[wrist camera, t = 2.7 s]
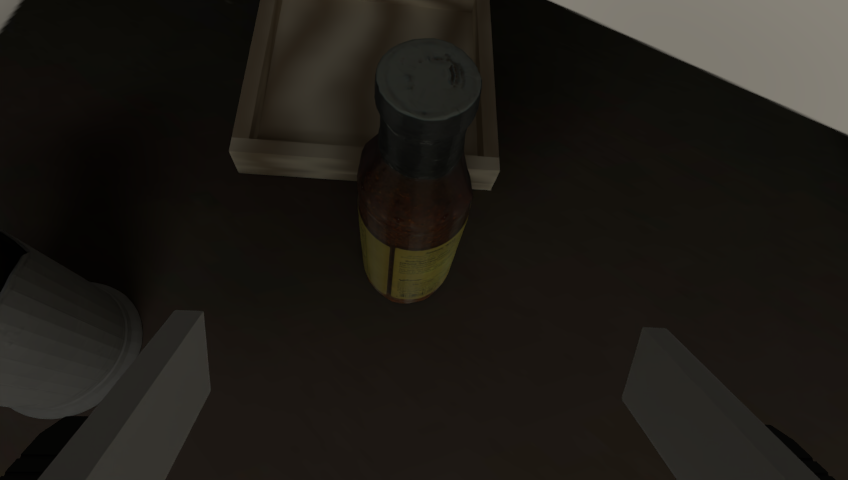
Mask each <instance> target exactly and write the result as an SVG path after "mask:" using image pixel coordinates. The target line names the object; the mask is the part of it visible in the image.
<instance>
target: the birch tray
mask: <svg viewBox="0 0 848 480" xmlns="http://www.w3.org/2000/svg"><path fill="white" fill-rule="evenodd" d="M423 38H435V39H440V40H444V41H447V42H450V43H452V44H454V45H455V46H457V47H458V48H460V49H462V50H463V51H464V52H465V53H466V54H467V55H468V56H469V57H470V58H471V59H472V60H473V62H474V63H475V65H476V66H477V68H478V71H479V73H480V75H481V79H482V90H481V96H480V101H479V107H478V111H477V112H476V116H475V118H474V120H473V121H472V123H471V124H470V126H469V127H468V128H467V131H466V134H465V145H464V153H465V159H466V164H467V168H468V171H469V174H470V179H471V185H472V189H479V190H491V188H492V186H493V184H494V182H495V180H496V178H497V176H498V174H499V172H500V165H499V149H498V132H497V116H496V99H495V83H494V66H493V50H492V33H491V17H490V0H260V4H259V9H258V14H257V19H256V24H255V28H254V33H253V38H252V43H251V47H250V52H249V57H248V62H247V67H246V71H245V76H244V81H243V86H242V91H241V95H240V100H239V105H238V110H237V115H236V119H235V124H234V129H233V134H232V139H231V143H230V148H229V152H230V155H231V157H232V159H233V161H234V163H235V166H236V168H237V170H238V172H239V173H247V174H262V175H276V176H291V177H305V178H320V179H334V180H349V181H357V173H358V168H359V163H360V158H361V153H362V150H363V148H364V145H365V144H366V143H367V142H368V141H370V140H371V139H372V138H373V137H374V136H376V135H377V134H378V132H379V128H380V114H379V112H378V110H377V108H376V104H375V98H374V95H375V74H376V68H377V65H378V63H379V61H380V59H381V58H382V56H383V55H384V54H385V53H387V51H388V50H389V49H391V48H392V47H394V46H396V45H398V44H400V43H403V42H406V41H409V40H412V39H423Z"/></svg>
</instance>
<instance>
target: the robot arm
mask: <svg viewBox="0 0 848 480" xmlns="http://www.w3.org/2000/svg"><path fill="white" fill-rule="evenodd" d="M210 391H211V389H210V378H209V367H208V355H207V344H206V333H205V322H204V311H187V310H175V311H174V312H173V313H172V314H171V316H170V317H169V318H168V319H167V321H166V322H165V323H164V324H163V326H162V327H161V328H160V329H159V330H158V332H157V333H156V334H155V335H154V337H153V338H152V339H151V340H150V342H149V343H148V344H147V345H146V347H145V348H144V349H143V350H142V351H141V353H140V354H139V355H138V356H137V358H136V359H135V360H134V361H133V363H132V364H131V365H130V366H129V367H128V369H127V370H126V371H125V372H124V374H123V375H122V376H121V377H120V379H119V380H118V381H117V382H116V383H115V385H114V386H113V387H112V388H111V390H110V391H109V392H108V393H107V395H106V396H105V397H104V398H103V400H102V401H101V402H100V403H99V404H98V406H97V407H96V408H95V409H94V411H93V412H92V413H91V414H90V416H89V417H87V416H65V417H64V418H62V419H61V420H59V421H58V422H56V423H55V424H53V425H52V426H51V427H49V428H48V429H46V430H45V431H43V432H42V433H40V434H39V435H38V436H37V437H36V438H35V440H34V441H33V442H32V443H31V444H30V445H29V446H28V447H27V448H26V450H25V451H24V452H23V453H22V454H21V457H20V459H16V461H15V462H14V463H13V464H12V465H11V466H10V467H9V468H8V469H7V471H6V472H5V475H4V476H1V477H0V480H165V479H166V477H167V475H168V473H169V471H170V469H171V467H172V465H173V463H174V461H175V459H176V457H177V455H178V453H179V451H180V449H181V448H182V446H183V444H184V442H185V440H186V438H187V436H188V434H189V432H190V430H191V428H192V426H193V424H194V422H195V420H196V418H197V416H198V414H199V412H200V410H201V409H202V407H203V405H204V403H205V401H206V399H207V397H208V395H209V393H210ZM622 400H623V402H624V403H625V405H626V406H627V407H628V409H629V410H630V412H631V413H632V415H633V416H634V418H635V419H636V421H637V422H638V424H639V425H640V426H641V428H642V429H643V431H644V432H645V434H646V435H647V437H648V438H649V440H650V441H651V443H652V444H653V445H654V447H655V448H656V450H657V451H658V453H659V454H660V456H661V457H662V459H663V460H664V462H665V463H666V464H667V466H668V467H669V469H670V470H671V472H672V473H673V475H674V476H675V478H676V479H677V480H835V479H834V478H833V477H832V476H828V472H827V471H826V470H825V469H824V468H822V467H821V466H820V465H819V464H818V463H817V462H814V461H813V460H812V457H811V456H810V455H809V454H808V453H807V452H806V451H805V450H803V449H802V448H801V447H800V446H799V445H798V444H797V443H796V442H795V441H794V440H793V439H791V438H789V437H788V436H786V435H785V434H783V433H782V432H780V431H779V430H777V429H776V428H774V427H773V426H771V425H764V424H763V423H762V422H761V421H760V420H759V419H758V418H757V417H756V416H755V415H754V414H753V413H752V412H751V411H750V410H749V409H748V408H747V407H746V406H745V405H744V404H743V403H742V402H741V401H740V400H739V399H738V398H737V397H736V396H735V395H734V394H733V393H732V392H731V391H729V390H728V389H727V388H726V387H725V386H724V385H723V384H722V383H721V382H720V381H719V380H718V379H717V378H716V377H715V376H714V375H713V374H712V373H711V372H710V371H709V370H708V369H707V368H706V367H705V366H704V365H703V364H702V363H701V362H700V361H699V360H698V359H697V358H696V357H695V356H694V355H693V354H692V353H691V352H690V351H689V350H688V349H687V348H686V347H685V346H684V345H683V344H682V343H681V342H679V341H678V340H677V339H676V338H675V337H674V336H673V335H672V334H671V333H670V332H669V331H668V330H667V329H666V328H648V327H643V328H642V331H641V335H640V338H639V342H638V345H637V348H636V352H635V355H634V359H633V362H632V365H631V369H630V372H629V376H628V379H627V382H626V386H625V389H624V392H623V396H622Z"/></svg>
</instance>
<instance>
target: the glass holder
mask: <svg viewBox="0 0 848 480" xmlns="http://www.w3.org/2000/svg"><path fill="white" fill-rule="evenodd" d="M142 336H143V330H142V322H141V319H140V316H139V313H138V311H137V309H136V308H135V306H134V304H133V303H132V302H131V301H130V300H129V299H128V298H127V296H126V295H124V294H123V293H121V292H120V291H118V290H117V289H114V288H112V287H110V286H107V285H104V284H99V283H95V282H89V281H87V280H86V279H84V278H82V277H81V276H79V275H77V274H76V273H74V272H72V271H71V270H69V269H67V268H66V267H64V266H62V265H61V264H59V263H57V262H56V261H54V260H52V259H51V258H49V257H47V256H46V255H44V254H42V253H41V252H39V251H37V250H36V249H34V248H32V247H31V246H29V245H27V244H26V243H24V242H22V241H21V240H19V239H17V238H15V237H14V236H12V235H10V234H9V233H7V232H5V231H4V230H1V229H0V406H4V407H11V408H12V409H13V410H15V411H17V412H19V413H21V414H24V415H26V416H30V417H34V418H39V419H57V418H64V417H65V416H72V415H76V414H79V413H82V412H84V411H86V410H88V409H90V408H92V407H94V406H96V405H97V404H99V403H100V402H101V401H102V400H103V398H104V397H105V396H106V395H107V393H108V392H109V391H110V390H111V388H112V387H113V386H114V385H115V383H116V382H117V381H118V380H119V379H120V377H121V376H122V375H123V374H124V372H125V371H126V370H127V369H128V367H129V366H130V365H131V364H132V363H133V361H134V360H135V359H136V358H137V356H138V355H139V353H140V349H141V345H142Z"/></svg>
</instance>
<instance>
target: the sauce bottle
mask: <svg viewBox="0 0 848 480" xmlns="http://www.w3.org/2000/svg"><path fill="white" fill-rule="evenodd" d="M481 90H482V79H481V75H480V73H479V71H478V68H477V66H476V65H475V63H474V62H473V60H472V59H471V58H470V57H469V56H468V55H467V54H466V53H465V52H464V51H463V50H462V49H460V48H458V47H457V46H455V45H454V44H452V43H450V42H447V41H444V40H440V39H435V38H423V39H412V40H409V41H406V42H403V43H400V44H398V45H396V46H394V47H392V48H391V49H389V50H388V51H387V53H385V54H384V55H383V56H382V58H381V59H380V61H379V63H378V65H377V68H376V74H375V95H374V98H375V104H376V108H377V110H378V112H379V114H380V128H379V132H378V134H377V135H376V136H374V137H373V138H372V139H371V140H370V141H368V142H367V143H366V144H365V145H364V148H363V150H362V153H361V158H360V163H359V168H358V173H357V185H358V213H359V225H360V236H361V245H362V254H363V263H364V268H365V271H366V274H367V277H368V280H369V282H370V283H371V284H372V285H373V286H374V288H375V289H376V290H377V291H378V292H380V293H381V294H382V295H383V296H385V297H386V298H387V299H389V300H391V301H393V302H398V303H411V302H418V301H422V300H424V299H427V298H429V297H430V295H432V294H433V293H434V292H435V291H436V290H437V289H438V288H439V286H440V285H441V284H442V283H443V281H444V280H445V278H446V276H447V274H448V272H449V269H450V266H451V263H452V261H453V258H454V255H455V252H456V249H457V246H458V244H459V241H460V238H461V235H462V232H463V230H464V227H465V224H466V221H467V219H468V215H469V212H470V207H471V200H472V199H473V194H472V185H471V179H470V174H469V171H468V168H467V164H466V159H465V153H464V145H465V134H466V131H467V128H468V127H469V126H470V124H471V123H472V121H473V120H474V118H475V116H476V112H477V111H478V107H479V101H480V96H481Z"/></svg>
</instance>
